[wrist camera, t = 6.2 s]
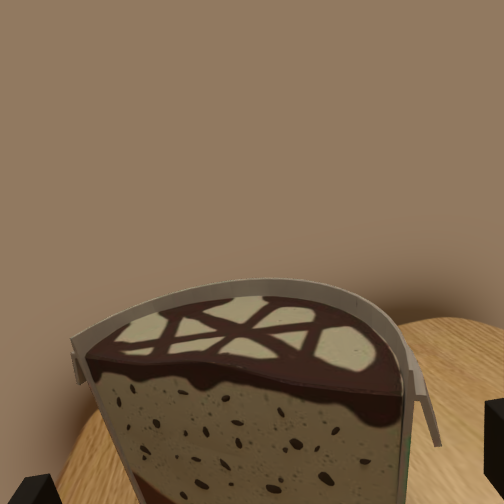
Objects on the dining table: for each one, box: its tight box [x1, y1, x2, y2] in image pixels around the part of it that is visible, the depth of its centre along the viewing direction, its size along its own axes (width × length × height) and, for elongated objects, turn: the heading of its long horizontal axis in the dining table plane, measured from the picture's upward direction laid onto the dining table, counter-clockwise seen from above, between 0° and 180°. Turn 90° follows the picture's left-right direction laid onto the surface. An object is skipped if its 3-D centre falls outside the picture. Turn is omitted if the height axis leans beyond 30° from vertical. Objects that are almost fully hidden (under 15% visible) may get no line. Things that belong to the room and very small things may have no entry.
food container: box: [70, 278, 442, 504], centre depth 14 cm, size 12×6×10 cm, turn 67°
